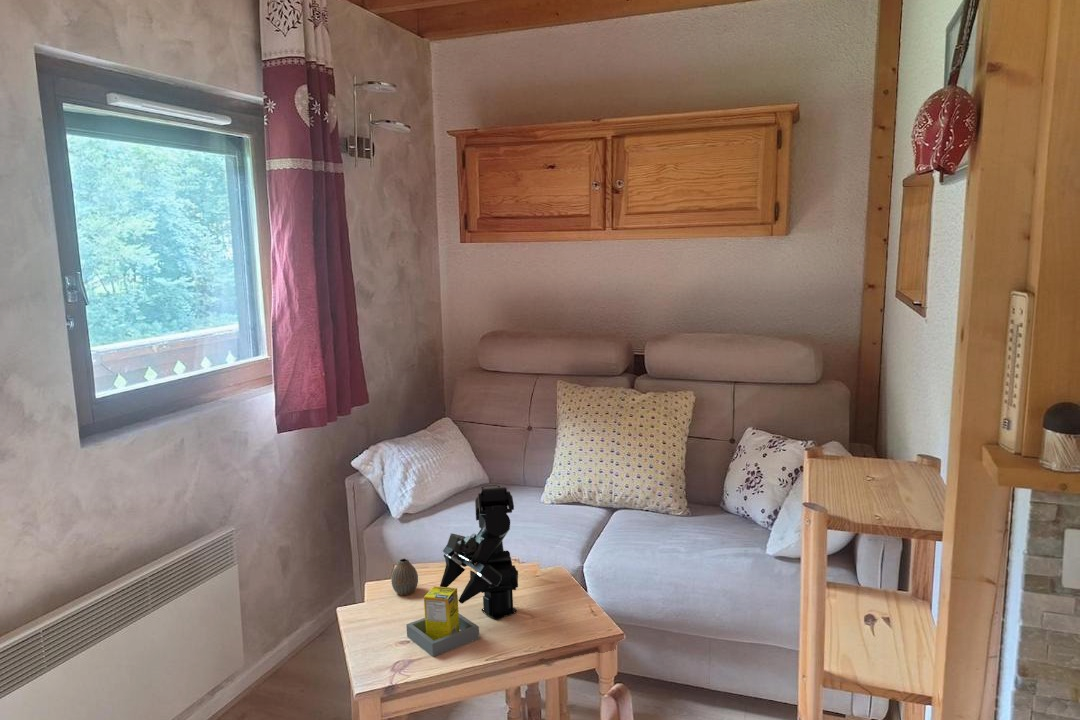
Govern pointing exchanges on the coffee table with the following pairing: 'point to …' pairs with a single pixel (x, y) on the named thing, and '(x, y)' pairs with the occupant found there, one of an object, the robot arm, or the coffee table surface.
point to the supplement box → (441, 612)
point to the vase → (404, 578)
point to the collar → (446, 643)
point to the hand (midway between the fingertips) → (450, 595)
